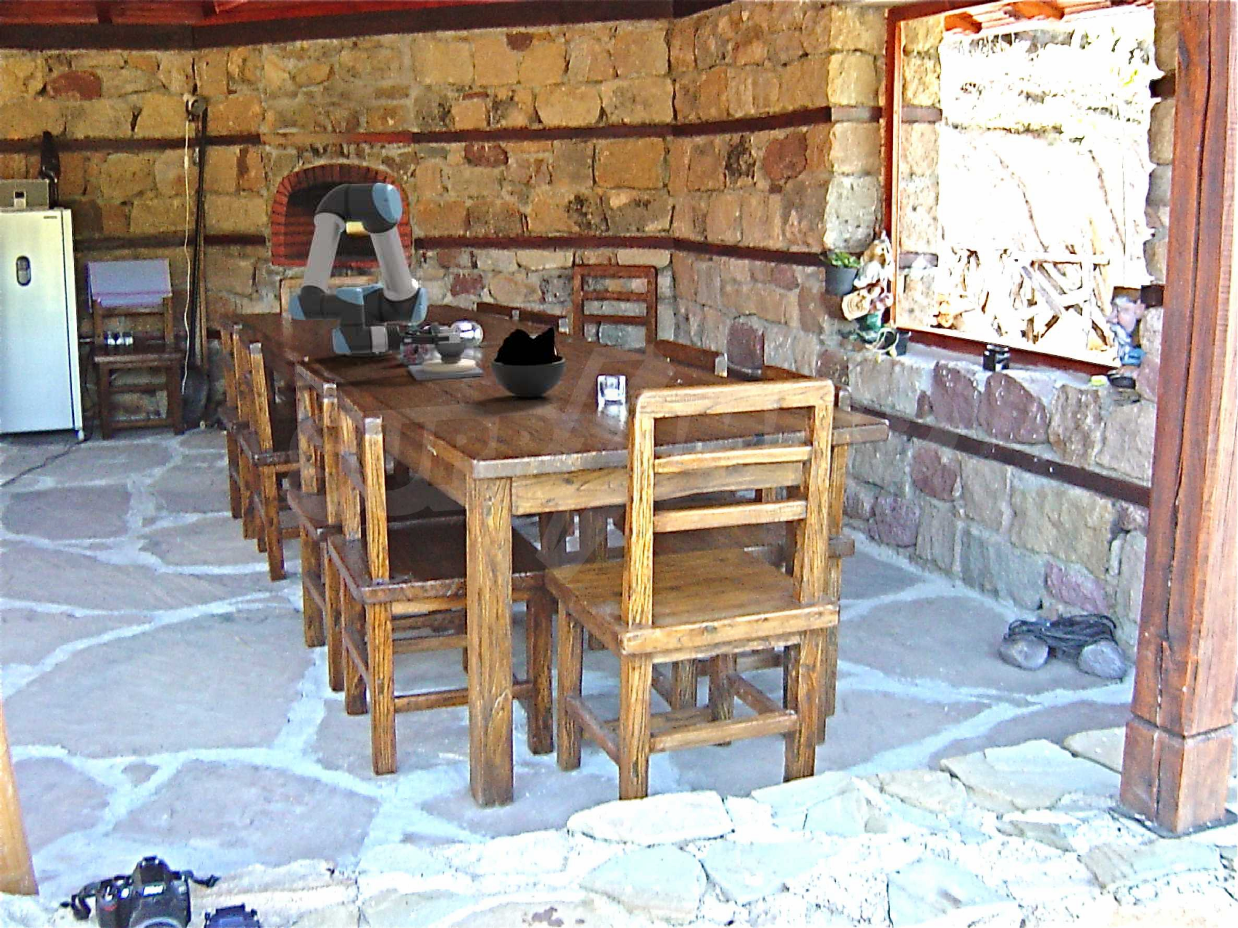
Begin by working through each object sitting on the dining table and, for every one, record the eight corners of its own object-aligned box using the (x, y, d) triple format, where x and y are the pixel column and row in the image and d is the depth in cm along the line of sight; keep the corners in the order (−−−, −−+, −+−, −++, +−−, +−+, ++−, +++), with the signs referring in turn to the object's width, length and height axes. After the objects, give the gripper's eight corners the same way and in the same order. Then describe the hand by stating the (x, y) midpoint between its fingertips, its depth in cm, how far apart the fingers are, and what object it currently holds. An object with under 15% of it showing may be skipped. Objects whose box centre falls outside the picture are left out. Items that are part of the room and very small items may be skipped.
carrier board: (408, 369, 409) (408, 357, 409) (472, 365, 414) (472, 354, 414) (416, 380, 389) (416, 367, 388) (483, 376, 394) (483, 363, 393)
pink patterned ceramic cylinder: (426, 359, 413) (403, 328, 414) (402, 379, 418) (381, 349, 418) (443, 354, 423) (421, 324, 424) (420, 374, 428) (399, 344, 428)
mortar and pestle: (460, 357, 406) (458, 319, 404) (471, 361, 398) (470, 321, 396) (425, 360, 401) (424, 321, 399) (436, 364, 393) (435, 324, 391)
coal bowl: (485, 403, 349) (482, 332, 345) (501, 390, 368) (499, 323, 364) (559, 403, 346) (557, 332, 342) (572, 390, 366) (570, 323, 362)
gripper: (382, 346, 406) (451, 342, 412) (390, 356, 383) (463, 352, 388) (381, 321, 405) (450, 318, 410) (389, 331, 381) (462, 327, 386)
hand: (456, 335), depth 399 cm, fingers open, 13 cm apart
